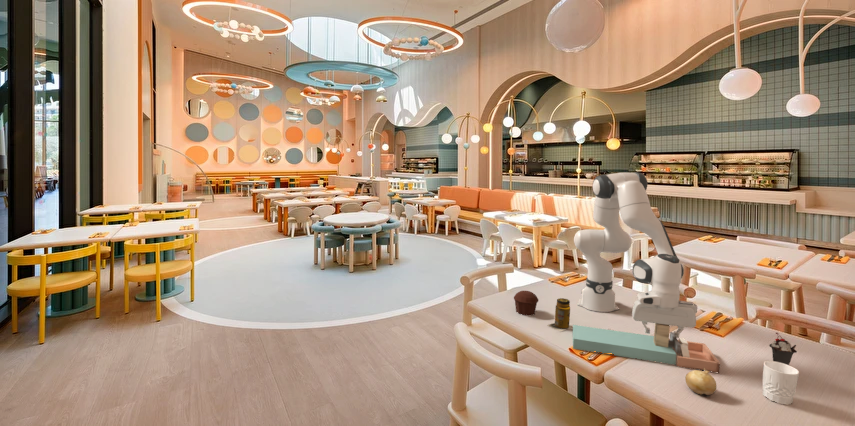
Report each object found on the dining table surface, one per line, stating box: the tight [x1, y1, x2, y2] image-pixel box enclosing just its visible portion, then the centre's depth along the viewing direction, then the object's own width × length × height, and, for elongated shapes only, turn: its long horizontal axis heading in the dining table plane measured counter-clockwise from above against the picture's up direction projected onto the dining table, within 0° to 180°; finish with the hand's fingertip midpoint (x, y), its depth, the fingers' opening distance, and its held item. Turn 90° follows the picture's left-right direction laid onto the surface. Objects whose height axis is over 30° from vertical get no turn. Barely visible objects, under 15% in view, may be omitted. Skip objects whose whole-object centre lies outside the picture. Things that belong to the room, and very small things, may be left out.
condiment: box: [547, 297, 573, 332], centre depth 168 cm, size 7×8×12 cm
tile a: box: [678, 337, 688, 356], centre depth 144 cm, size 5×5×2 cm
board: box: [572, 324, 677, 366], centre depth 149 cm, size 14×34×4 cm, turn 70°
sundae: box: [768, 332, 798, 366], centre depth 129 cm, size 7×7×15 cm
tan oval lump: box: [685, 368, 717, 396], centre depth 120 cm, size 8×8×7 cm
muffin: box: [513, 290, 539, 316], centre depth 185 cm, size 12×11×10 cm
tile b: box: [680, 344, 690, 358], centre depth 138 cm, size 5×5×2 cm
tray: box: [669, 338, 721, 374], centre depth 141 cm, size 16×12×4 cm
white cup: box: [761, 360, 800, 405], centre depth 117 cm, size 8×8×10 cm
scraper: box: [653, 323, 681, 354], centre depth 143 cm, size 12×7×8 cm, turn 159°
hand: (661, 334), depth 144 cm, fingers open, 8 cm apart
